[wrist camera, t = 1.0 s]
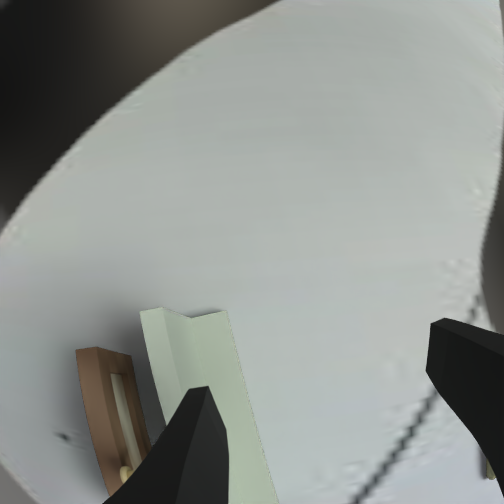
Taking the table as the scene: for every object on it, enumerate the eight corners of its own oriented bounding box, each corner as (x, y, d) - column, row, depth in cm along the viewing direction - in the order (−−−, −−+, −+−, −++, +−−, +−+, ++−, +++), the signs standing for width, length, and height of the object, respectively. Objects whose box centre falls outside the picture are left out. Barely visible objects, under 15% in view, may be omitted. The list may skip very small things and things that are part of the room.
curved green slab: (278, 502, 19) (297, 570, 10) (192, 515, 19) (173, 582, 9) (227, 311, 24) (218, 294, 14) (135, 330, 23) (75, 323, 14)
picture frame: (181, 534, 15) (164, 569, 10) (163, 534, 15) (141, 567, 10) (131, 355, 22) (96, 346, 16) (113, 358, 21) (75, 349, 16)
